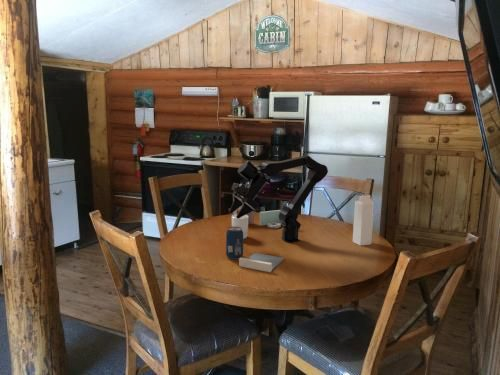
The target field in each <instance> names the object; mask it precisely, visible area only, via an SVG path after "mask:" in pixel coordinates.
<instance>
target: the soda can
mask: <svg viewBox="0 0 500 375" xmlns="http://www.w3.org/2000/svg"><path fill="white" fill-rule="evenodd" d="M225 255H226V256H227V258H228V259H230V260H239V258H241V257H242V258H243V256H244V239H243V231H242V228H241V227H232V226H229V227H228V228H227V230H226V233H225Z"/></svg>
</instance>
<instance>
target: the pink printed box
mask: <svg viewBox="0 0 500 375" xmlns="http://www.w3.org/2000/svg"><path fill="white" fill-rule="evenodd" d="M232 195H233V194H232ZM233 196H234V195H233ZM233 196H232V197H233ZM241 202H242V201H241ZM244 203H246V202H244ZM241 208H242V206H241V207H239V208H238V209H237V210H235V211H234V212H233V213H232V216H233V215H236V214H238V213H239V211H240V209H241ZM253 210H254V211H252V212H250V213H248V214H246V215H247V216H248V224H250V225H251V224H252V225H253V224H255V209H253Z"/></svg>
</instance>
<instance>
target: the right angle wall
mask: <svg viewBox="0 0 500 375" xmlns="http://www.w3.org/2000/svg"><path fill="white" fill-rule="evenodd" d="M279 211H281V209H277V210H268V211H259V226H267V228H269V229H274V230H275V229H279V228H281V227H282V226H284V225H283V224H282V222H281V221H280V220H279V214H280V212H279ZM281 225H282V226H281Z"/></svg>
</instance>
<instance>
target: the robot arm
mask: <svg viewBox="0 0 500 375" xmlns="http://www.w3.org/2000/svg"><path fill="white" fill-rule="evenodd" d="M304 166H305V167H306V168H307V170H308V171H307V177H306V179H305V181H304V182H303V184H302V185H301V187H300V188H299V190H298V191H297V192H296V195H295V196H294V197H293V199H292V201H291V202H290V203H289V204H288V205H285V204H283V206H282V208H281V209H280V210H281V211H279V212H280V214H279V220H280V221H281V222H282V224H283V225H284V226H283V225H282V226H283V228H282V230H281V231H282V232H281V239H282V240H283V241H285V242H286V243H291V242H292V243H293V242H300V241H301V240H300V238H299V230H300V228H301V225H302V224H301V222H299V221H298V220H297V219H298V218H299V213H300V210H301V207H303V204H304V203H305V202H306V200H307V198H308V197H309V196H310V194H311V192H312V191H313V189H314V188H315V186H316V185H317V184H318V183H319V182H321V181H323V179H324V178H325V177H326V176H327V175H328V173H329V170H328V166H327V165H325V164H323V163H320V162H318V161H316V160H315V159H313V158H312V157H311V156H310V155H304V154H303V155H301V156H297V157H292V158H289V159H284V160H279V161H275V160H273V161H268V160H267V161H264V162H262V163H261V164H260V165H257V166H255V165H254V164H253V163H252V162H251V161H250V160H248V159H247V160H246V161H245V162H244V163H243V164H241V165H240V166H239V167H238V169H237V173H238V174H239V175H240V176H241V177H243V178H244V179H245V180H246V181H250V182H249V183H245V184H244V183H240V184H239V183H238V182H237V183H236V182H233V184H232V186H231V191H233V192H232V193H231V194H232V195H231V196H232V204H231V205H230V206H231V207H230V209H229V212H228V213H230V214H233V212H234V211H235V210H237V209H238V208H239V207H241V206H242V208H241V209H240V211H239V213H238V214H237V216H236V218H238V219H239V218H240V217H242V216H244V215H246V214H248V213H250V212H252V211H254V212H255V211H257V210H258V209H259V207H260V204H259V203H258V202H257V201H256V200H255V198H256V197H257V196H258V195H261V191H262V190H263V188H264V187H265V186H266V184H267V185H270V186H271V185H272V180H271V178H270V177H274V176H277V175H279V174H280V173H281V172H283V171H286V170H291V169H294V168H298V167H304ZM233 195H234V196H233ZM241 201H242V202H241ZM244 202H246V203H244ZM253 209H254V210H253Z"/></svg>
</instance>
